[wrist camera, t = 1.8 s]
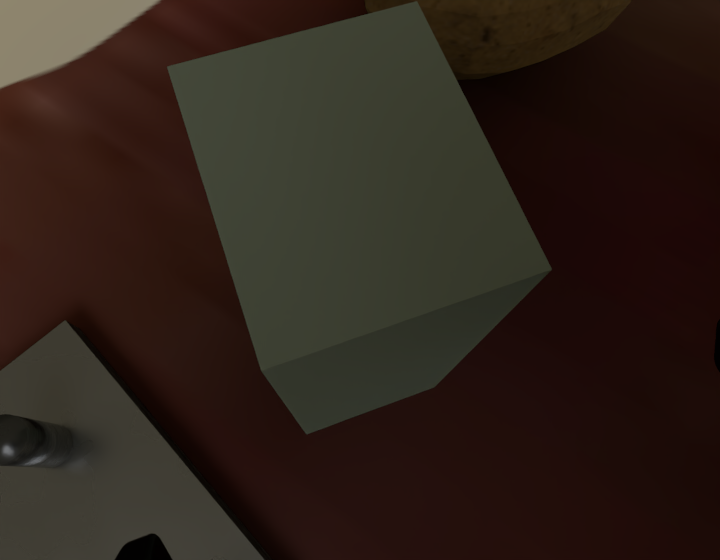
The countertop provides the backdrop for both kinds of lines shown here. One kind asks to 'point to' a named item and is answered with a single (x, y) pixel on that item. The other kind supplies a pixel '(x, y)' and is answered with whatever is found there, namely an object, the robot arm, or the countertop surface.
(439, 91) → the plate
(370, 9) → the potato
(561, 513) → the countertop surface
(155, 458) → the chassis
